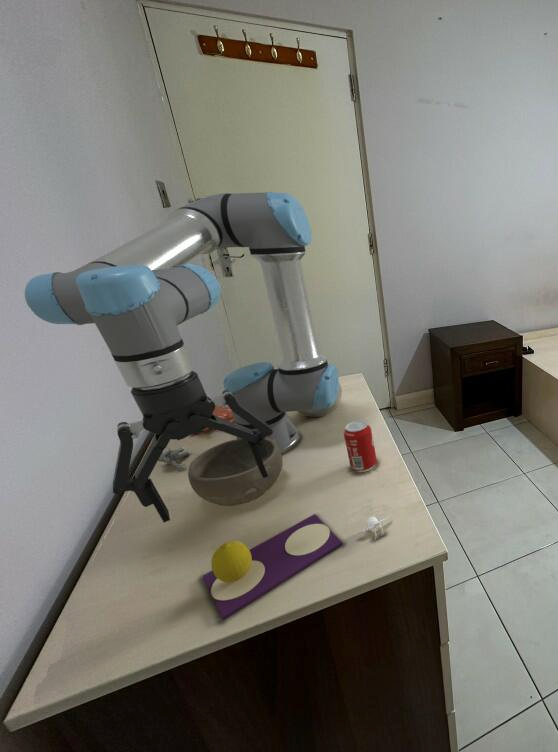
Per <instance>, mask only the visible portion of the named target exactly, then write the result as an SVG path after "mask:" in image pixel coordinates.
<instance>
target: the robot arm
mask: <svg viewBox="0 0 558 752" xmlns="http://www.w3.org/2000/svg"><path fill="white" fill-rule="evenodd" d="M311 242H312V229H311V225H310V221H309V219H308V216H307V214H306V212H305V209H304V208H303V206H302V205H301V203H300V201H299V200H298V199H297V198H296V197H295V196H294V195H292V194H289V193H287V192H273V191H268V192H243V193H241V192H240V193H239V192H238V193H237V192H236V193H229V192H227V193H226V192H224V193H223V192H222V193H216V194H212V195H208V196H205V197H202V198H200V199H196V200H194V201H192V202H190V203H187V204H185V205H183V206H181V207H179V208H177V209H175V210H173V211H171V212H170V213H169V214H168V215H167V217H166V221H165V222H163V223H162V224H161V223H160V225H157V226H156V227H153V228H152V229H149V230H148V231H146V232H144V233H143V234H141V235H139V236H137V237H135V238H133V239H132V240H129V241H127V242H126V243H124V244H122V245H120V246H118V247H116V248H115V249H112V250H111V251H109V252H107V253H105V254H103V255H101V256H100V257H98V258H96V259H94V260H92V261H90V262H88V263H86V264H84V265H82V266H80V267H78V268H76V269H74V270H71V271H68V272H60V271H58V272H57V271H56V272H55V271H54V272H52V273H43V274H38V275H36V276H34V277H32V278H31V279H29V280H28V282H27V283H26V284H25V287H24V299H25V302H26V305H27V306H28V308H29V309H30V310H31V312H33V314H34V315H35V316H37V318H39V319H41V320H42V321H44V322H47V323H49V324H54V325H76V326H84V325H90V324H95V326H96V328H97V329H98V332H99V333H100V335H101V337H102V339H103V341H104V342H105V344H106V347H107V348H108V350H109V351H110V354H111V357H112V358H113V361H114V363H115V364H116V367H117V369H118V371H119V372H120V375H121V376H122V379H123V381H124V382H125V384H126V386H127V387H130V388H131V390H130V394H131V396H132V397H133V399H134V401H135V404H136V405H137V407H138V409H139V411H140V413H141V415H142V420H138V421H134V422H127V421H121V422H119V423H118V424H117V425H116V431H117V436H118V440H119V448H118V452H117V457H116V463H115V469H114V474H113V477H112V478H113V479H112V493H113V494H115V495H121V494H123V493H124V492H133V493H134V494H135V496H136V497H137V499H138V501H139V502H140V504H141V506H143V507H145V508H147V507H149V506H152V505H153V506H154V508H155V510H156V512H157V513H158V515H159V518H161V520H162V522H163V523H167V522H169V521H171V517H170V512H169V510H168V507H167V506H166V504H165V502H164V501H163V499H162V497H161V495H160V493H159V492H158V489H157V487H156V486H155V484H154V482H153V481H152V479H151V478H150V476H151V474H152V472H153V471H154V469H155V466H156V465H157V463H158V462H159V461H158V459H159V458H160V456H161V454H162V453H164V450H165V449H166V448H167V447H168V445H169V444H170V441H171V440H173V441H174V440H177V441H180V440H183V439H185V438H187V437H189V436H193V434H194V435H197V434H200V433H203V431H205V430H204V429H205V428H206V427H208V428H211V429H210V430H214V431H219V432H223V433H225V434H228V435H231V436H234V437H236V438H235V440H236V439H240V438H242V439H245V440H248V441H247V442H248V444H249V446H250V449H251V451H252V454H253V456H254V459H255V461H256V464H257V466H258V469H259V471H260V473H261V475H262V477H263V478H266V477H268V474H267V472H266V469H265V467H264V464H263V462H262V458H265V457H267V455H268V453H267V450H266V448H265V445H264V441H263V440H264V438H265V437H266V438H270V439H272V440H274V441H275V442H276V444H277V445H278V447H279V449H280V451H281V454H282V455H283V454H285V453H286V452H288V451H290V450H291V449H292V448H294V447H296V445H297V444H298V443H299V441H300V433H299V430H298V429H297V427H296V425H295V424H294V423H293V422H292V420H291V419H290V418H289V416H288V415H287V413H290V412H292V413H293V412H298V411H307V410H314V411H315V410H318V409H325V408H329V407H331V406H332V405H333V403H334V402H335V400H336V397H337V392H338V383H340V381H339V371H338V369H337V367H336V366H335V365H334V364H333V365H332V364H329V363H328V358H327V356H325V355H324V354H322V353H321V352H320V350H319V344H318V340H317V335H316V330H315V324H314V320H313V315H312V309H311V306H310V305H311V304H310V301H309V296H308V290H307V286H306V280H305V276H304V270H303V266H302V261H301V260H302V259H303V257H304V256H305V255H306V253H307V251H306V246H309V245H310V244H311ZM226 248H248V250H249V255H250V256H251V257H252V258H253V259H254V260H256V261H258V263H259V264H260V268H261V272H262V277H263V281H264V284H265V285H264V286H265V289H266V293H267V297H268V301H269V302H268V303H269V307H270V311H271V314H272V318H273V323H274V327H275V332H276V335H277V340H278V344H279V348H280V352H281V357H282V358H281V360H280V361H279V362H278V364H277V368H275V366H274V364H273V363H272V362H268V361H262V362H257V363H256V362H255V363H252V364H248V365H245V366H242V367H240V368H237V369H235V370H232V371H231V372H229V373H228V374H227V375H225V377H224V378H223V381H222V384H223V388H224V390H223V391H222V393H221V394H220V395H217V396H215V397H213V398H210V397H209V396H208V395H207V393H206V391H205V388H204V386H203V383H202V381H201V379H200V376H199V374H198V373H197V372H196V371H194V369H195V365H194V363H193V361H192V358H191V356H190V353H189V350H188V349H187V346H186V344H185V342H184V340H183V339H182V336H181V334H180V331H179V328H178V326H179V325H181V324H183V323H184V322H186V321H189V320H191V319H193V318H195V317H196V316H199V315H202V314H204V313H207V311H209V310H210V309H211V308H212V307H214V306H215V305H216V304H218V303H219V301H220V299H221V296H222V289H221V285H220V282H219V281H218V278H216V276H215V275H214V274H213V273H212V272H211V271H209V270H208V269H207V268H204V266H203V267H202V266H200V265H198V264H191V263H190V262H192V261H193V260H194V259H196V258H197V257H198V256H200V255H208V254H211V253H213V252H214V251H216V250H218V249H226ZM215 406H222V407H223V408H230V409H231V410H232V413H233V416H234V419H235V422H236V423H233V422H230V421H227V420H225V419H222V418H220V417H218V416H216V415H214V414H213V411H214V409H215ZM143 430H146V431H147V432H150V433H152V434H154V435H153V437H152V441H151V443H150V444H149V445H148V449H147V450H146V452H145V454H144V455H143V457H142V459H141V461H140V462H139V465H138V467H137V468H136V470H135V472H134V474H133V476H130V478H128V477H129V471H130V464H131V460H132V455H133V449H134V440H135V439H138V438H139V437H140V433H141V432H142V431H143ZM202 430H203V431H202Z"/></svg>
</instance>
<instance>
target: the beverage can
mask: <svg viewBox="0 0 558 752" xmlns="http://www.w3.org/2000/svg"><path fill="white" fill-rule="evenodd" d="M372 432H373V431H372V427H371V426H370V424H368V422H367V421H365V420H355V421H351V422H350V423H347V424H346V425H345V430H344V432H343V437H344V443H345V446H346V447H345V448H346V452H347V457H348V461H349V465H350V469H351V470H353V471H354V472H357V473H366V472H368V471H371V470H373V468H374V467H375V465H376V464H377V462H378V460H377V454H376V453H377V452H376V449H375V448H376V447H375V443H374V436H373V433H372Z"/></svg>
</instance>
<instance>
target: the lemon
mask: <svg viewBox="0 0 558 752" xmlns="http://www.w3.org/2000/svg"><path fill="white" fill-rule="evenodd" d="M249 550H250V549H249V548H248V547H247V546H246V544H245V543H243V542H241V541H238V540H233V541H232V540H231V541H227V542H225V543H223V544H221V545H220V546H218V547H217V549H216V550H215V551H214V552H213V555H212V558H211V571H212V570H213V573H214V575H215V576H216V577H217V578H218V579H219V580H220V581H223V582H234V581H237V580H239V579H241V578H242V577H244V576H245V575H246V573H247V572H248V571H249V569H250V567H251V563H252V557H251V553H250V551H249Z"/></svg>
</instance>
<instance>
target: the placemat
mask: <svg viewBox="0 0 558 752" xmlns="http://www.w3.org/2000/svg"><path fill="white" fill-rule="evenodd" d="M342 545H343V542H342V541H341V540H340V538H339V537H338V536H336V534H335V533H334V532H333V531H332V530H331V529H330V527H328V526H327V525H326V524H325V523H324V522H323V521H322V520H321V518H319V517H318V516H317V515H316V514H312V515H311V516H308V517H307V518H305V519H303V520H301V521H299V522H298V523H295V524H294V525H292V526H290V527H289V528H287V529H285V530H283V531H282V532H281V531H280V532H279V533H278V534H276V535H274V536H272V537H270V538H269V539H267V540H265V541H264V542H261V543H260V544H258V545H256V546H254V547H252V548H250V549H249V551H250V553H251V557H252V563H251V567H250V569H249V571H248V572H247V573H246V575H245V576H244V577H242V578H241V579H239V580H237V581H234V582H223V581H220V580H219V579H218V578H217V577H216V576H215V575H214V573H213V570H212V569H211V570H210V571H208V572H207V573H205V574H203V575H202V578H203V580H204V582H205V584H206V586H207V588H208V590H209V593H210V595H211V596H212V598H213V601H214V603H215V606H216V607H217V610H218V611H219V613H220V615H221V617H222V619H223V621H224V620H225V619H227V618H229V617H230V616H232V615H234V614H235V613H237V612H238V611H240V610H241V609H243V608H245V607H247V606H248V605H250V604H252V602H255V601H256V600H258V599H259V598H261V597H262V596H264V595H265V594H267V593H268V592H271V591H272V590H273V589H275V588H276V587H277V586H279V585H281V584H283V583H284V582H286V581H288V580H289V579H290V578H292V577H294V576H295V575H297V574H299V573H300V572H302V571H303V570H305V569H306V568H308V567H309V566H311V565H313V564H314V563H316V562H318V561H319V560H320V559H323V558H324V557H325V556H327V555H329V554H330V553H332V552H333V551H335V550H336V549H338V548H339V547H341V546H342Z"/></svg>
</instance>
